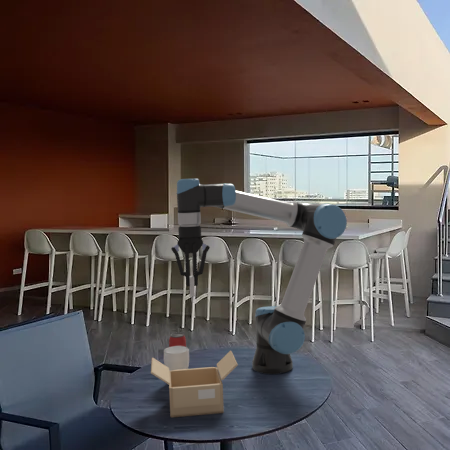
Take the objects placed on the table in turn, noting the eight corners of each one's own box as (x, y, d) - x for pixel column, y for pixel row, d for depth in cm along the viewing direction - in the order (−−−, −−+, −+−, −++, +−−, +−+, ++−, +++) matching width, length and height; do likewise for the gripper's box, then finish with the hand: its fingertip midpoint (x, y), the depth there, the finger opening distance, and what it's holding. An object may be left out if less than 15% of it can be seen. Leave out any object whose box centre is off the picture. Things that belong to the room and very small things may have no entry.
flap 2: (217, 365, 167) (231, 351, 167) (222, 380, 154) (237, 365, 154) (216, 364, 167) (230, 350, 167) (221, 379, 153) (236, 363, 154)
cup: (186, 388, 174) (184, 354, 173) (161, 387, 176) (159, 353, 175) (193, 378, 183) (191, 346, 182) (169, 377, 184) (167, 345, 184)
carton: (217, 393, 169) (217, 366, 168) (223, 413, 153) (222, 384, 152) (169, 397, 167) (168, 370, 166) (170, 418, 151) (169, 388, 150)
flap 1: (169, 368, 165) (152, 357, 164) (169, 383, 152) (151, 371, 151) (168, 369, 165) (151, 358, 164) (168, 384, 152) (150, 373, 151)
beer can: (172, 361, 202) (171, 332, 201) (188, 362, 201) (187, 332, 200) (168, 367, 195) (166, 337, 194) (184, 367, 194) (183, 337, 194)
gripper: (208, 224, 173) (210, 292, 174) (169, 225, 171) (172, 294, 173) (210, 225, 165) (212, 296, 167) (170, 227, 164) (173, 299, 165)
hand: (192, 295), depth 170 cm, fingers closed
